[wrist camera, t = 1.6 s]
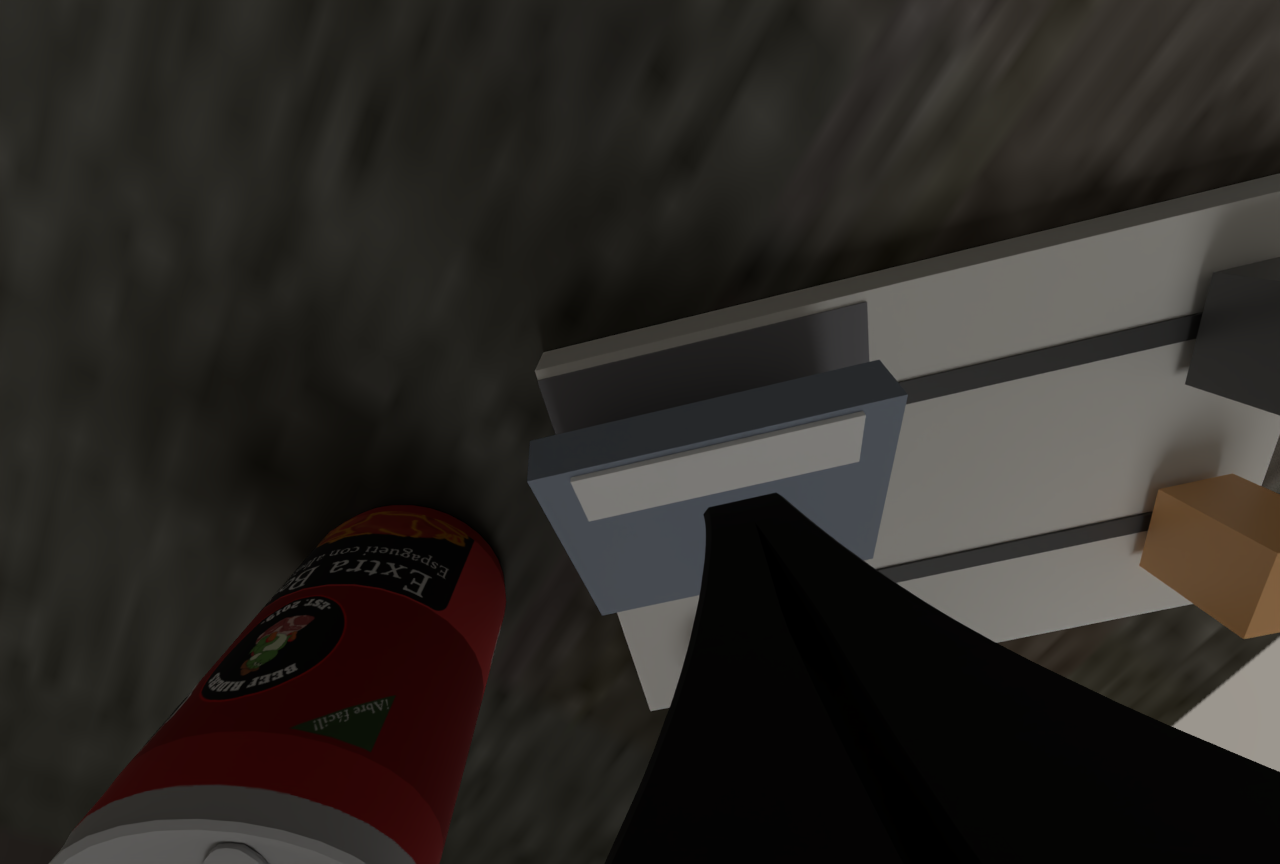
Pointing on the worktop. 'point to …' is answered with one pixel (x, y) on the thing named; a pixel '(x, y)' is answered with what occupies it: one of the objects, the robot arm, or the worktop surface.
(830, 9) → the worktop surface
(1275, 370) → the black fader knob
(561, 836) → the worktop surface
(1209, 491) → the orange fader knob
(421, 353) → the worktop surface
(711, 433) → the rocker
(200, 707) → the canned food
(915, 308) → the panel
